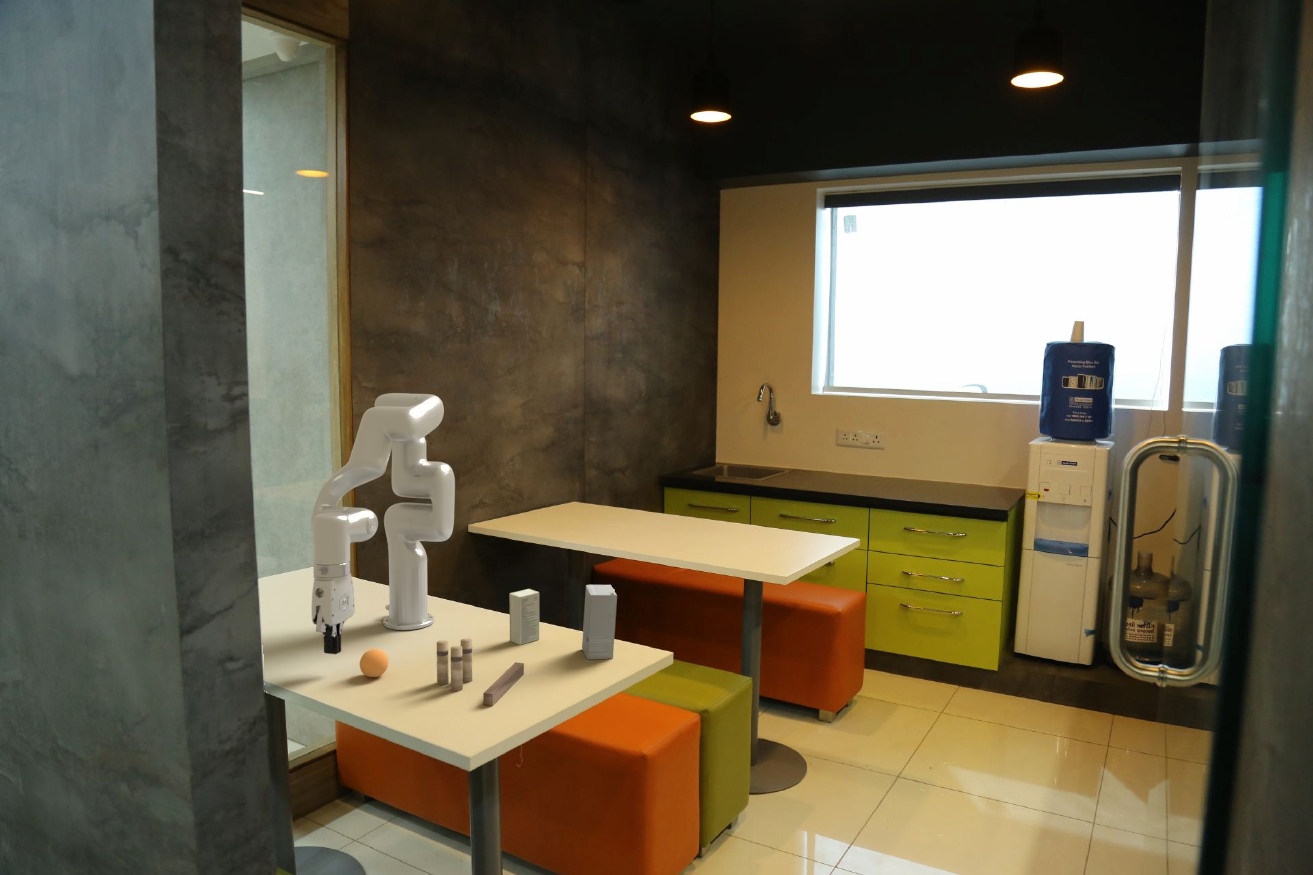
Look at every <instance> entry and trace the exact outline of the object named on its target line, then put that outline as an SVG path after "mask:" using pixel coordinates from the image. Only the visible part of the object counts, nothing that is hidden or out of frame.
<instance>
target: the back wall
mask: <svg viewBox="0 0 1313 875" xmlns="http://www.w3.org/2000/svg"><path fill="white" fill-rule="evenodd" d="M524 674H525V663H524V662H514V663H513V664H512V665H511V666H510V667H509V668H508V669H507V670H506V671H504V673H503V674H501V675H500V676H499V677H498V678H497V679H496V680H495V681H494V682H493V683H492V684H491V685H490V686H489V687H488V688H487V689H486V690H484V691H483V696H482V698H483V700H482V701H483V702H482V703H483V706H490V707H494V705H495V704H497V702H498V701H499V700H500V699H501V698H502V697H503V696H504V695H505V694H507V692H508V691H509V690H510V689H511V688H512V687H513V686H514V685H515V684H516V683H517V682H518V681H519V680H520V679H521V678H522V677H523V675H524Z"/></svg>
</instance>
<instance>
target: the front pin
mask: <svg viewBox="0 0 1313 875" xmlns="http://www.w3.org/2000/svg"><path fill="white" fill-rule="evenodd" d="M449 678H450V677H449V641H448V640H446V639H445V640H443V639H442V640H438V641H436V684H437V685H438V686H446V685H448V684H449V681H450V680H449Z"/></svg>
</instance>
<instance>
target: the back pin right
mask: <svg viewBox="0 0 1313 875" xmlns="http://www.w3.org/2000/svg"><path fill="white" fill-rule="evenodd" d="M462 660H463V657H462V646H461V645H453V646H451V647H450V690H451V692H461V691H462V690H463V687H464V686H463V683H464V682H463V671H462Z"/></svg>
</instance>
